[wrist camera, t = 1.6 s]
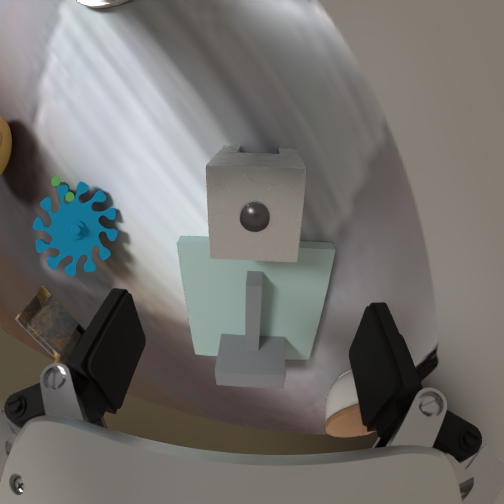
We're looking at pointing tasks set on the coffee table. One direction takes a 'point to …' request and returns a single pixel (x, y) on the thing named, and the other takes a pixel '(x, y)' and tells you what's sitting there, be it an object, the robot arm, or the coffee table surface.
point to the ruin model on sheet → (50, 325)
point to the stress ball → (4, 144)
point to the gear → (74, 227)
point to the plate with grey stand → (254, 309)
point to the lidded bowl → (344, 409)
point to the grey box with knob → (255, 204)
